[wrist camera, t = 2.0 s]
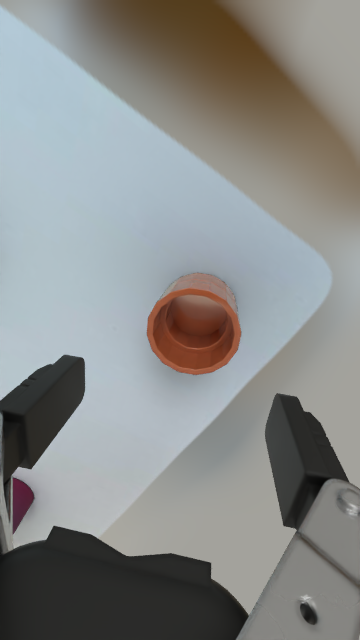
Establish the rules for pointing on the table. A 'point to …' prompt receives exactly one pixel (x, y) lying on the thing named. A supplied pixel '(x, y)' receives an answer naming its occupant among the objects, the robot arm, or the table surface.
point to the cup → (20, 501)
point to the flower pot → (195, 325)
